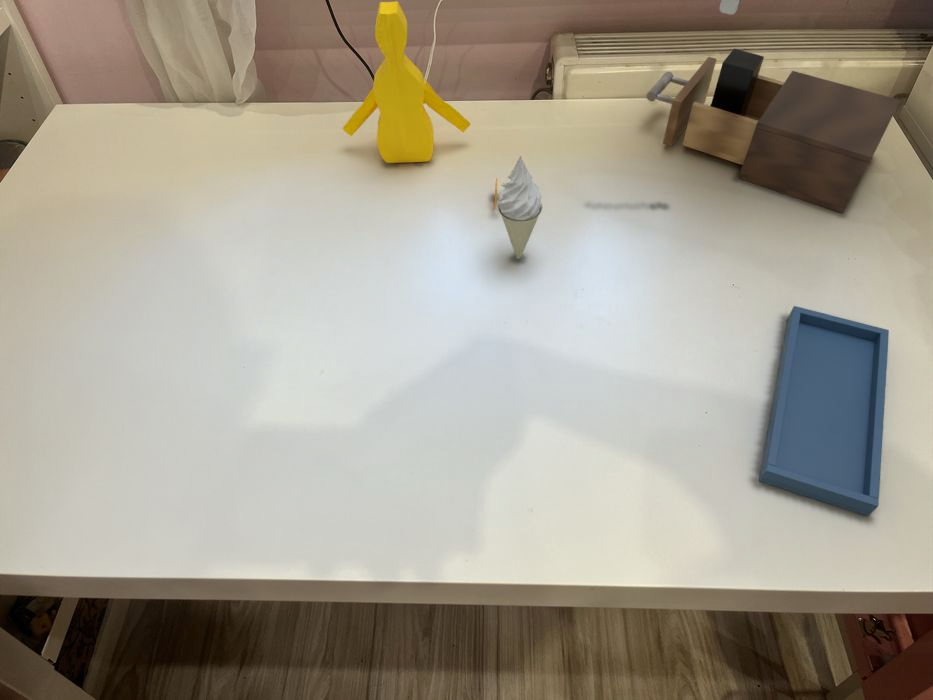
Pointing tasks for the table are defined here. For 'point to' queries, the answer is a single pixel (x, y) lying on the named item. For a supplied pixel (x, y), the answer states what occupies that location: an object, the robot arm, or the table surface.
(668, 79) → the drawer
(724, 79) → the block
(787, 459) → the tray
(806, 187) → the small wooden cabinet
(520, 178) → the ice cream cone
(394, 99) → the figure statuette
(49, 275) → the table surface
